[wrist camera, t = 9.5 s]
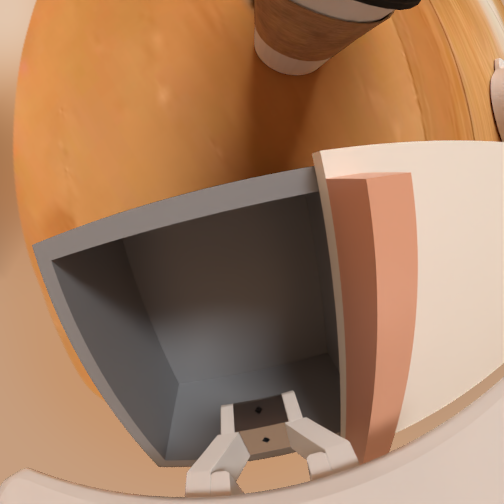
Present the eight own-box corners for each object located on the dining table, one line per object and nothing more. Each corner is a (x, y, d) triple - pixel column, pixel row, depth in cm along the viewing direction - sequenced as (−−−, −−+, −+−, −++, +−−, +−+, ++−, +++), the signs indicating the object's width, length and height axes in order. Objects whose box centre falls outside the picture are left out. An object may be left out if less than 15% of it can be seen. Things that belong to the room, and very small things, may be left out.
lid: (519, 144, 10) (559, 146, 6) (500, 354, 15) (525, 375, 11) (311, 153, 10) (358, 139, 6) (340, 443, 14) (357, 486, 11)
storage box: (309, 166, 20) (376, 157, 10) (334, 351, 24) (377, 424, 14) (109, 216, 19) (32, 245, 10) (174, 385, 24) (158, 466, 14)
